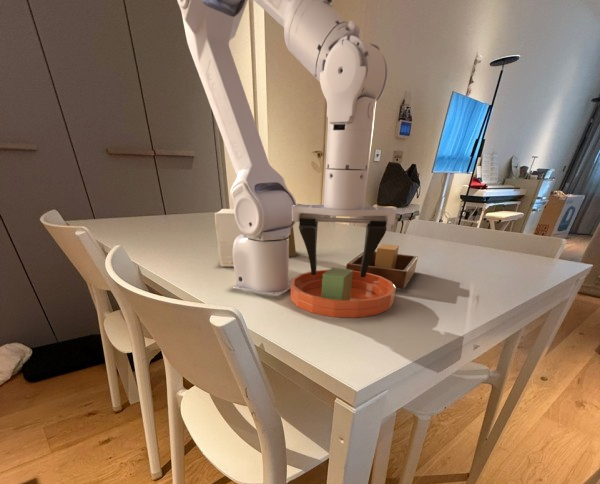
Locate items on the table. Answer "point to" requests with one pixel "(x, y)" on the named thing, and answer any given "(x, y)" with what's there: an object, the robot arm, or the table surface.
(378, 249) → the light brown block
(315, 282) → the orange round tray
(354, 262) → the holder
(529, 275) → the table surface
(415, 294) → the table surface
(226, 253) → the small box
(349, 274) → the green block
